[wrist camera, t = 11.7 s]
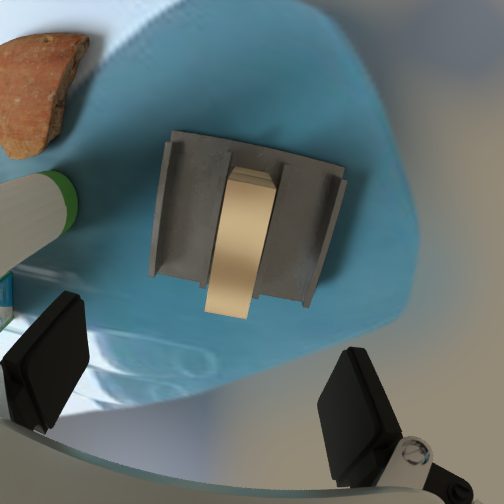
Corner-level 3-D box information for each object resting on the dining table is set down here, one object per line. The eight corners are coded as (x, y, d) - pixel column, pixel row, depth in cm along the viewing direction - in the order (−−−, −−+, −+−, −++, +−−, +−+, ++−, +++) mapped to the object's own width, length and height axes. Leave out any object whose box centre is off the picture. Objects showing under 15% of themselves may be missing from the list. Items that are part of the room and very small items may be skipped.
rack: (174, 130, 28) (163, 129, 24) (342, 166, 29) (354, 171, 26) (154, 268, 33) (143, 284, 30) (303, 297, 35) (309, 316, 31)
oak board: (235, 166, 29) (227, 179, 20) (268, 173, 29) (276, 189, 20) (217, 262, 32) (204, 311, 23) (247, 268, 32) (246, 319, 23)
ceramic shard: (-39, 152, 23) (-5, 38, 20) (-5, 153, 29) (25, 50, 26) (24, 165, 22) (71, 20, 19) (63, 167, 28) (102, 42, 25)
